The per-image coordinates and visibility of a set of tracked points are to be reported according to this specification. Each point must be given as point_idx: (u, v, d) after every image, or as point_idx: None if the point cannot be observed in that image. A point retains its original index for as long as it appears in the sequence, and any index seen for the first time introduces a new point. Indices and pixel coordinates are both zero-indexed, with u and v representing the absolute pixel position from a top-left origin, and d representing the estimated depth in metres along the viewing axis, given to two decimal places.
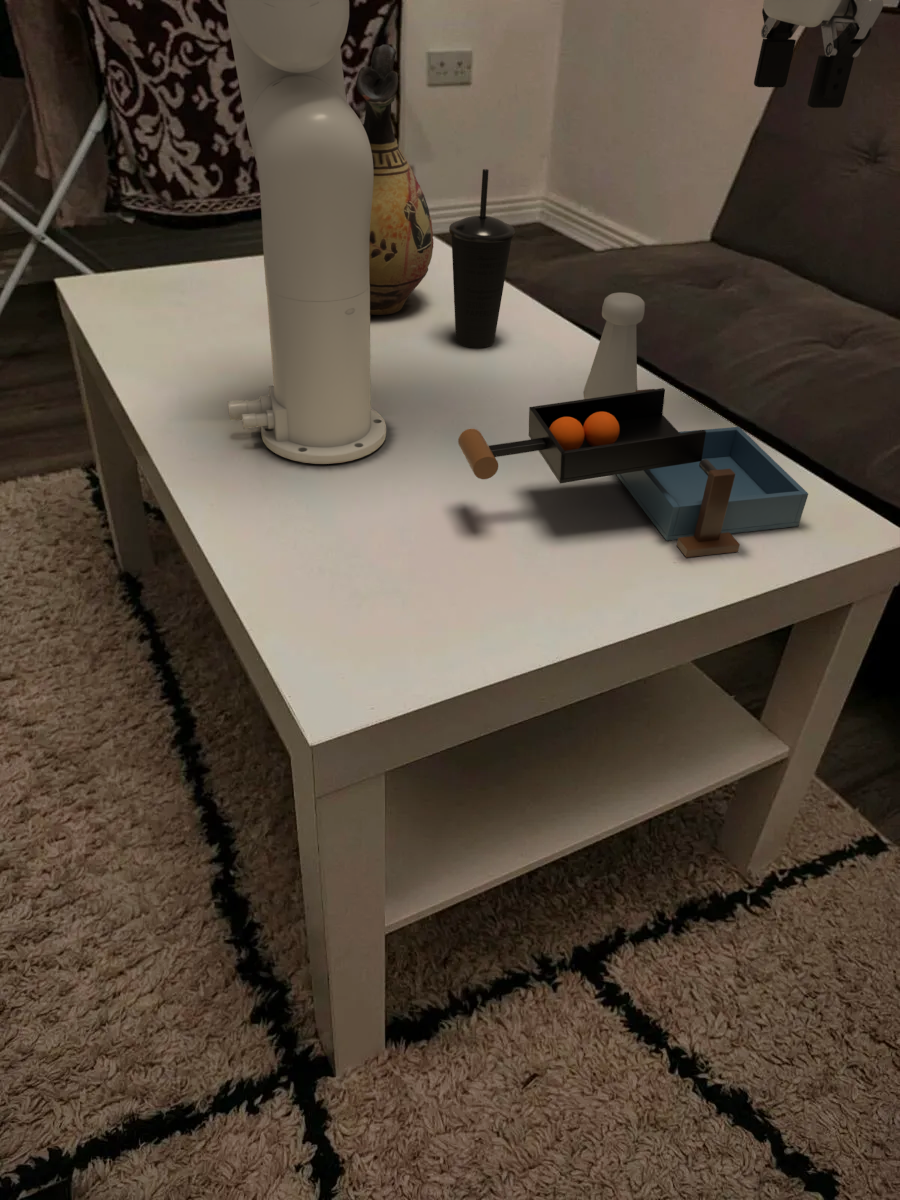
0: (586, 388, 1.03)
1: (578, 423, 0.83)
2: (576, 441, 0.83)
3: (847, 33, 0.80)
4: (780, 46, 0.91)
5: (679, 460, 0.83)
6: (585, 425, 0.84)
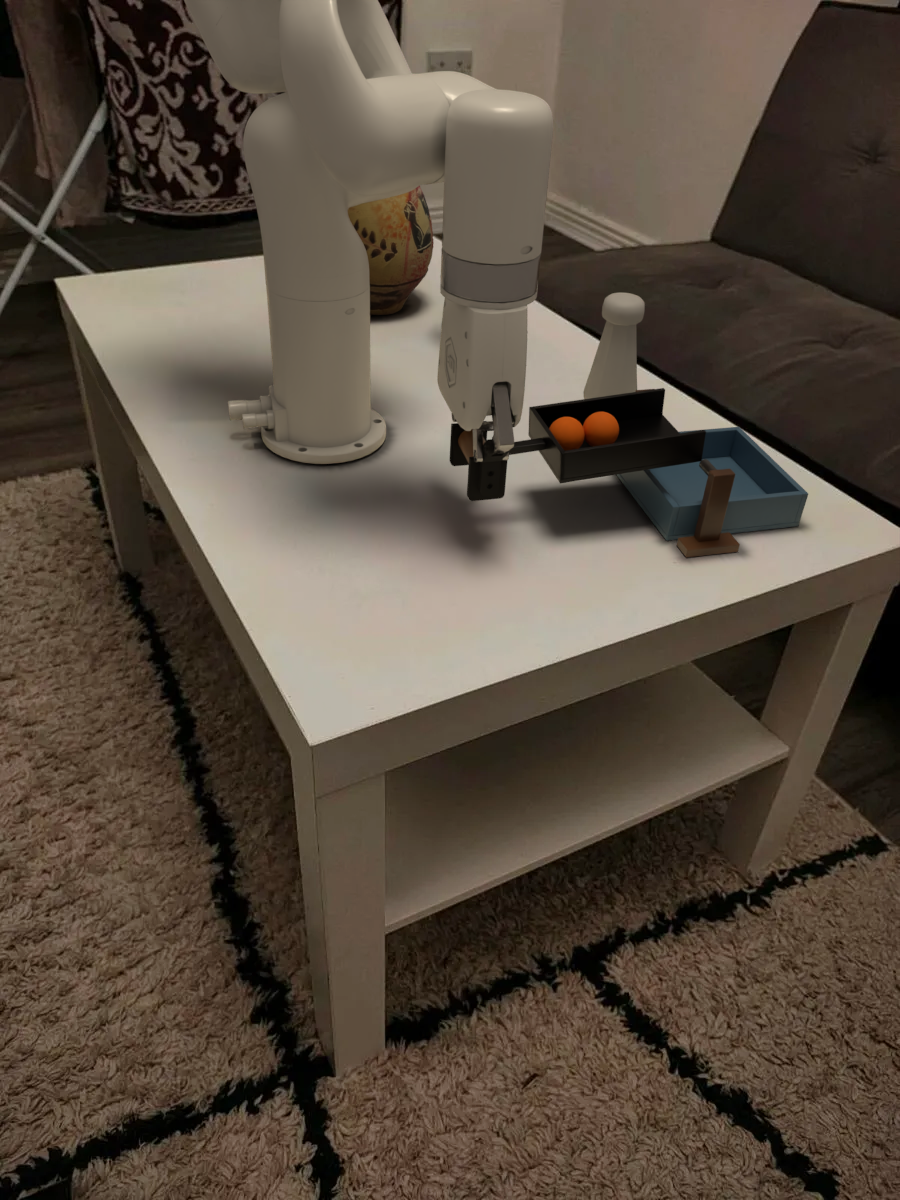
0: (586, 388, 1.03)
1: (578, 423, 0.83)
2: (576, 441, 0.83)
3: (485, 449, 0.77)
4: None
5: (679, 460, 0.83)
6: (584, 426, 0.84)
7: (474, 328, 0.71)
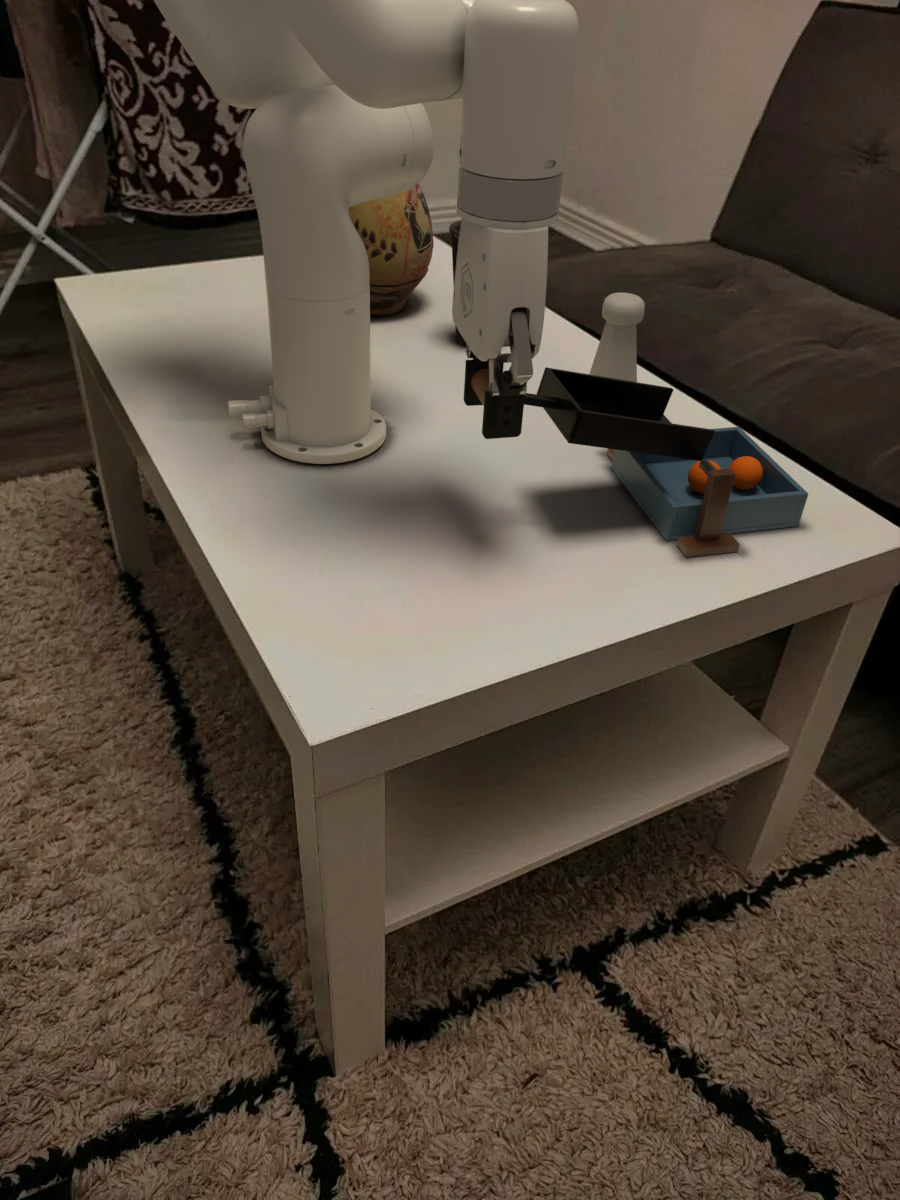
0: None
1: (720, 468, 0.90)
2: None
3: (502, 380, 0.73)
4: (485, 368, 0.81)
5: (682, 453, 0.83)
6: None
7: (492, 248, 0.68)
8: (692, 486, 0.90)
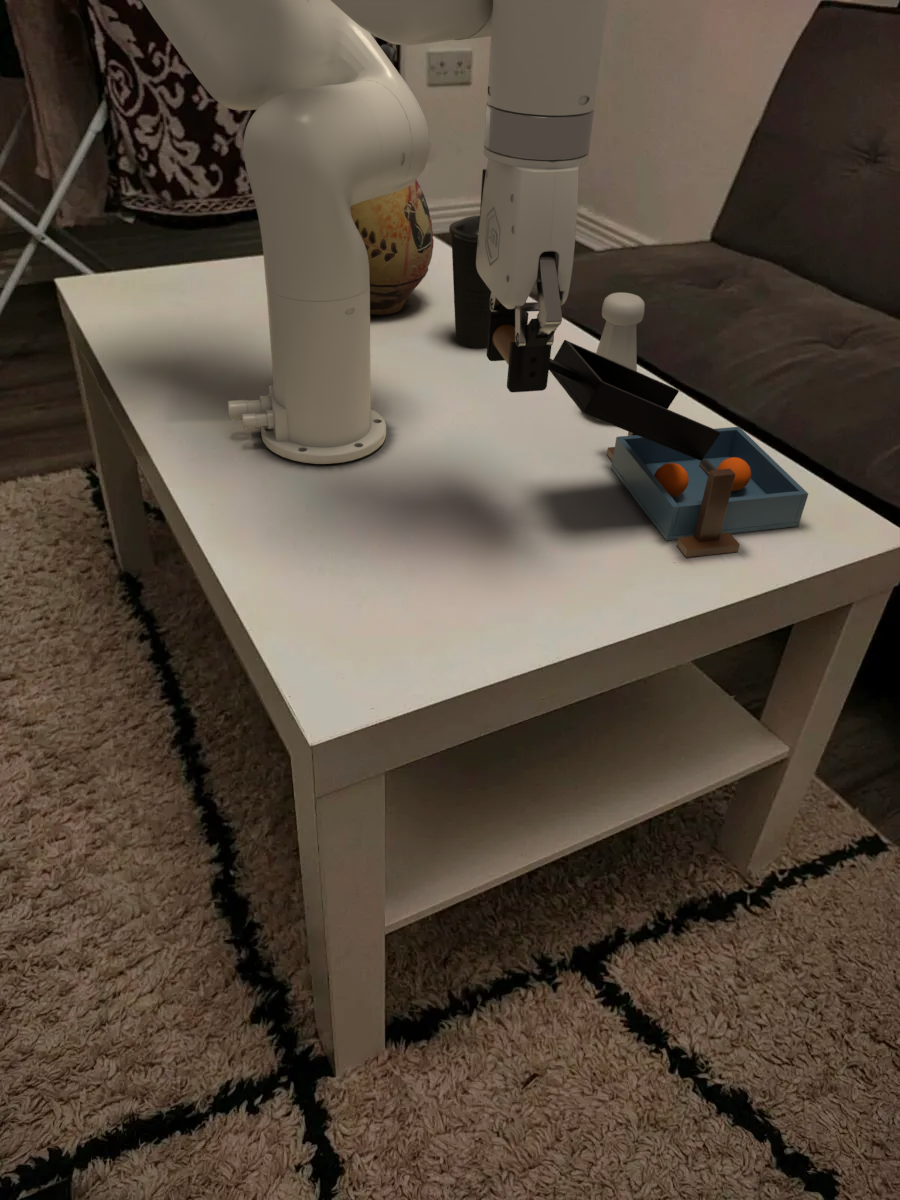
0: None
1: None
2: (675, 485, 0.88)
3: (530, 329, 0.71)
4: (510, 321, 0.79)
5: (686, 449, 0.83)
6: None
7: (521, 189, 0.66)
8: None
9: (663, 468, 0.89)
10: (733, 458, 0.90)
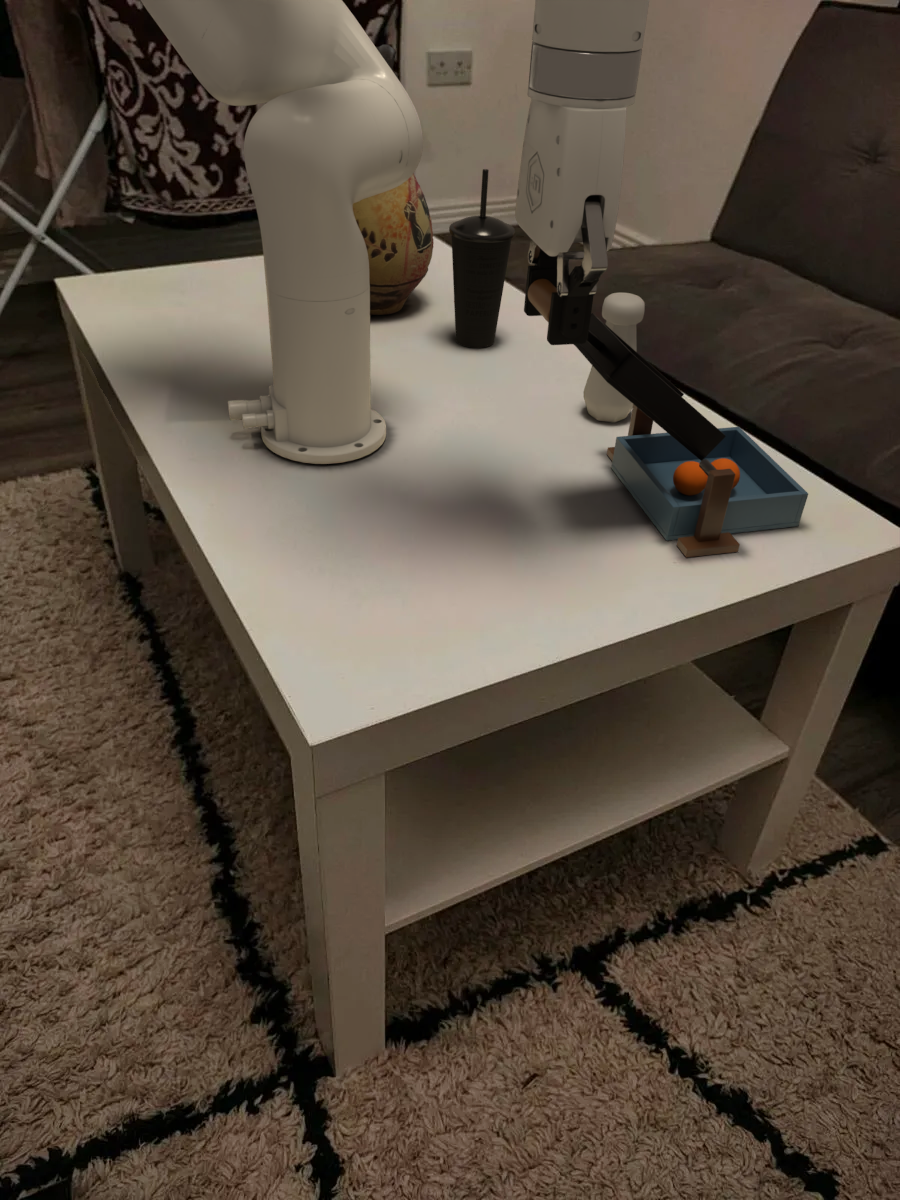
0: (586, 388, 1.03)
1: (693, 466, 0.89)
2: (700, 482, 0.89)
3: (573, 277, 0.70)
4: (548, 274, 0.77)
5: (690, 445, 0.83)
6: None
7: (568, 129, 0.64)
8: None
9: None
10: (712, 464, 0.90)
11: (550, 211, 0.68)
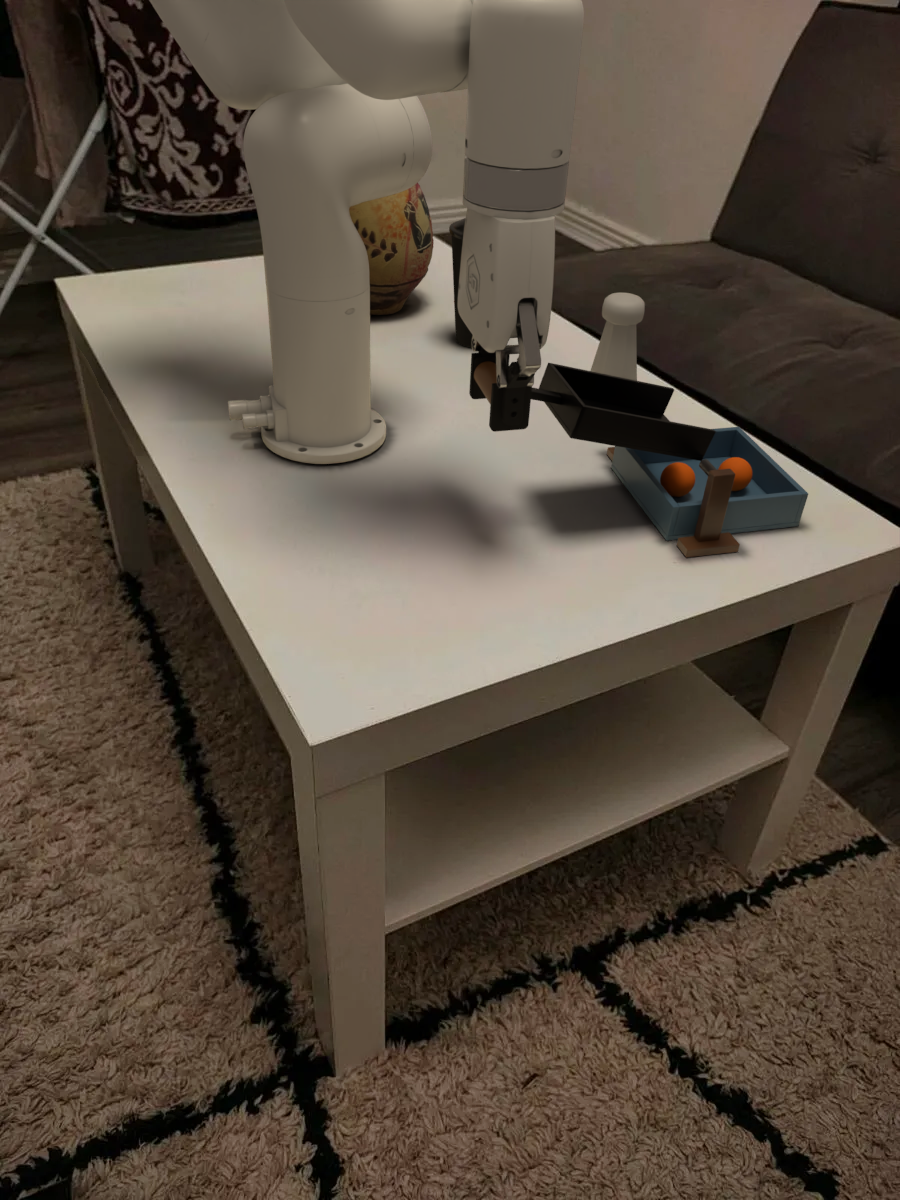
0: None
1: (669, 474, 0.89)
2: (684, 484, 0.88)
3: (510, 372, 0.73)
4: (491, 361, 0.81)
5: (683, 453, 0.83)
6: None
7: (500, 239, 0.68)
8: None
9: (677, 464, 0.89)
10: (736, 458, 0.90)
11: (486, 312, 0.71)
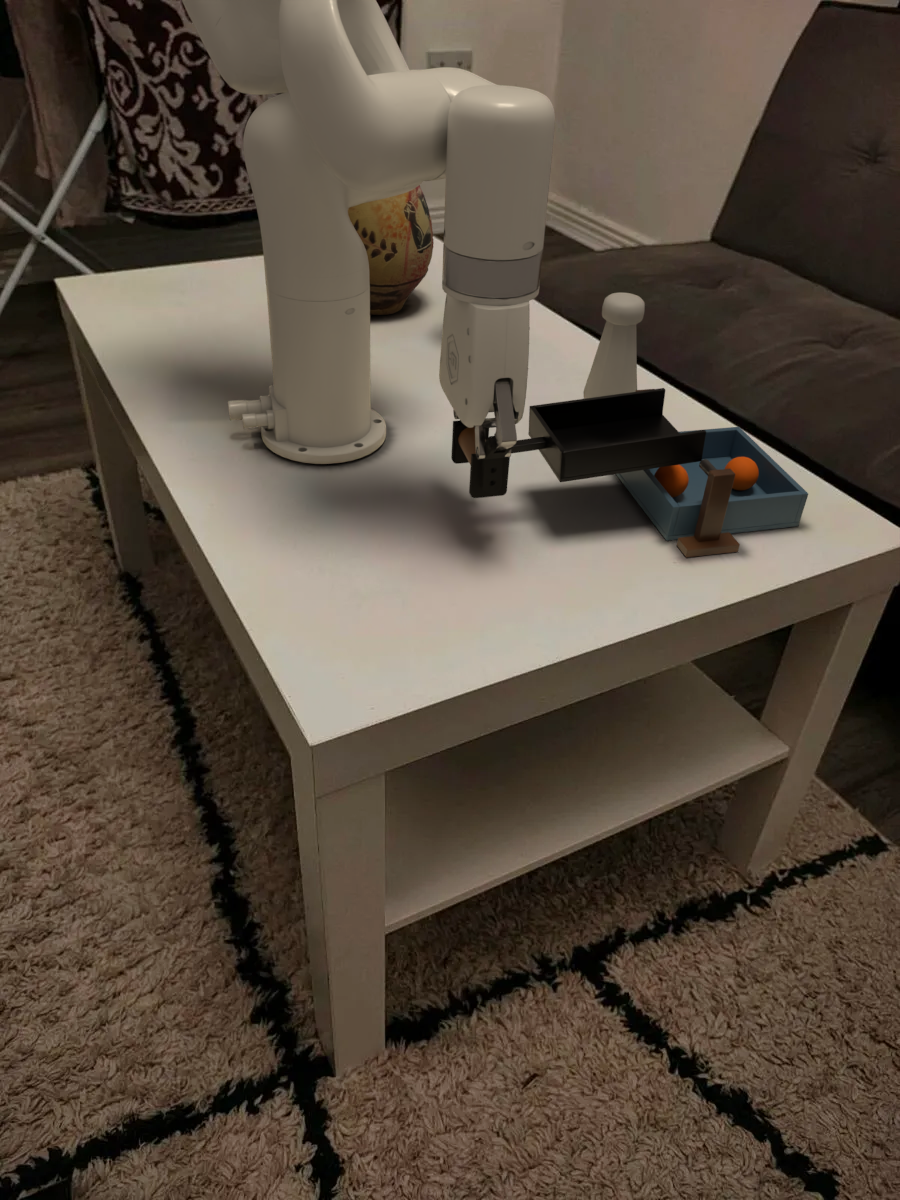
0: (586, 388, 1.03)
1: None
2: (675, 485, 0.88)
3: (488, 445, 0.77)
4: None
5: (679, 459, 0.83)
6: None
7: (476, 324, 0.71)
8: None
9: (663, 468, 0.89)
10: (748, 458, 0.91)
11: (464, 390, 0.75)
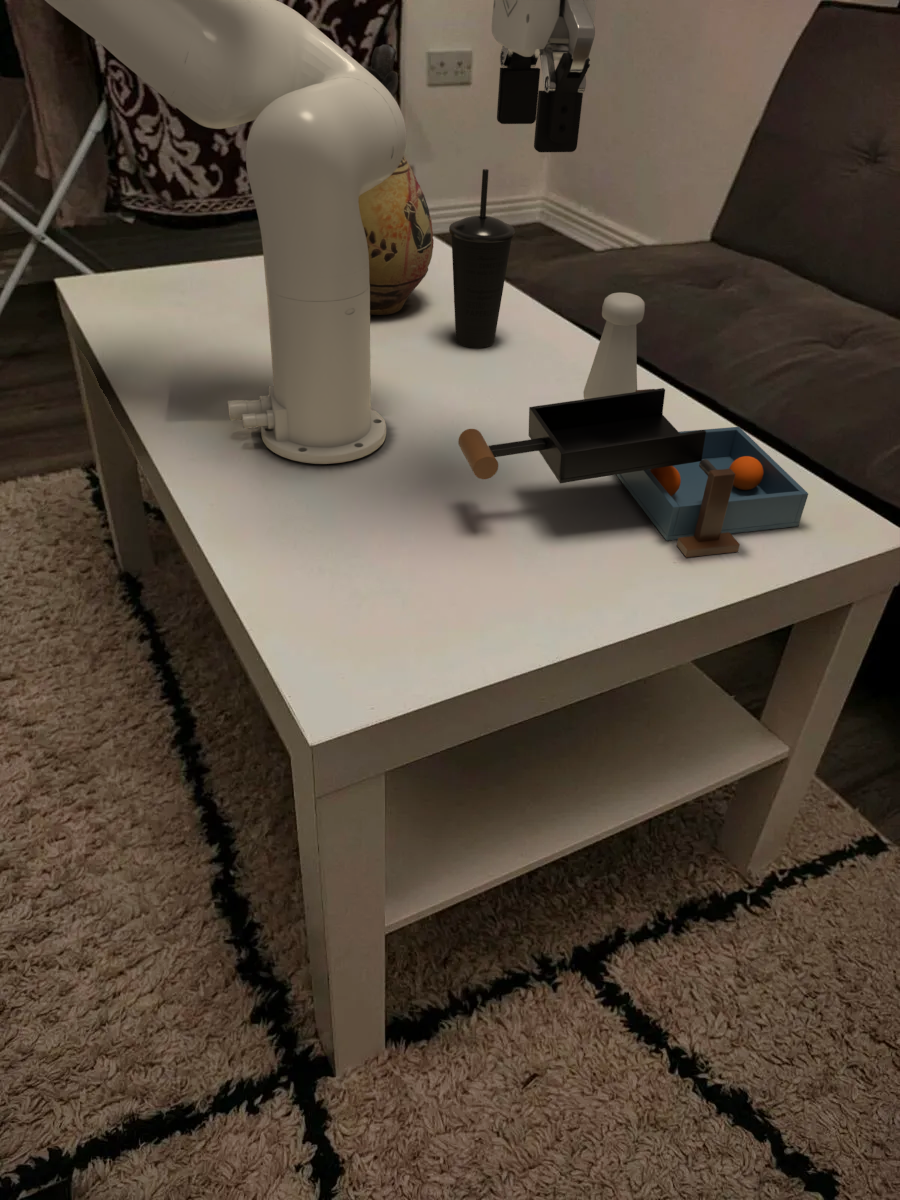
0: (586, 388, 1.03)
1: None
2: (666, 488, 0.88)
3: (561, 65, 0.66)
4: (521, 76, 0.76)
5: (679, 460, 0.83)
6: None
7: None
8: None
9: None
10: None
11: (526, 5, 0.66)
